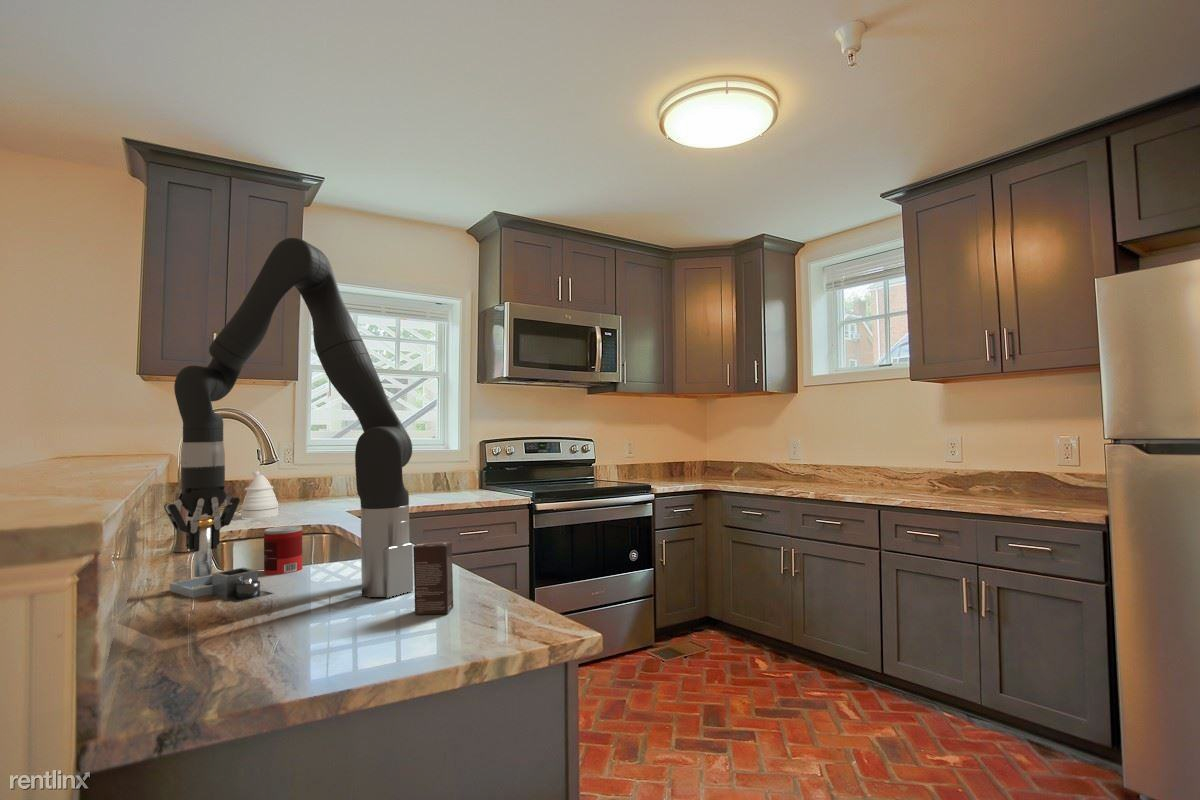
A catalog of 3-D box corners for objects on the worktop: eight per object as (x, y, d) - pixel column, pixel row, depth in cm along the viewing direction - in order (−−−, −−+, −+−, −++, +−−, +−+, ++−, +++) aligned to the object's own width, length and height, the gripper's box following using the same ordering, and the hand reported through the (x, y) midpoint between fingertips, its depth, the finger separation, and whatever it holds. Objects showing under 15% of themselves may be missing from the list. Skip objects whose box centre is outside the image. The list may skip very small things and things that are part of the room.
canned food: (308, 572, 146) (307, 524, 146) (292, 580, 138) (292, 530, 138) (275, 573, 145) (274, 526, 146) (257, 582, 137) (257, 531, 138)
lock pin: (217, 574, 127) (217, 518, 127) (197, 578, 124) (197, 521, 124) (208, 572, 129) (208, 517, 129) (188, 576, 126) (188, 520, 126)
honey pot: (233, 519, 242) (233, 473, 243) (260, 514, 254) (260, 470, 255) (260, 520, 238) (259, 472, 239) (286, 515, 251) (285, 470, 252)
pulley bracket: (273, 601, 121) (273, 572, 121) (236, 610, 116) (235, 580, 116) (245, 593, 127) (245, 566, 128) (208, 602, 122) (208, 573, 122)
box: (454, 607, 114) (452, 540, 114) (447, 614, 109) (446, 545, 110) (420, 608, 114) (419, 541, 114) (413, 615, 109) (412, 546, 110)
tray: (237, 595, 127) (237, 580, 127) (192, 605, 120) (192, 589, 120) (213, 588, 132) (213, 574, 132) (169, 598, 126) (169, 583, 126)
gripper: (172, 467, 119) (172, 558, 119) (248, 462, 131) (248, 545, 130) (155, 466, 124) (155, 554, 123) (230, 462, 135) (230, 542, 134)
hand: (203, 549), depth 126 cm, fingers closed on lock pin, 3 cm apart
